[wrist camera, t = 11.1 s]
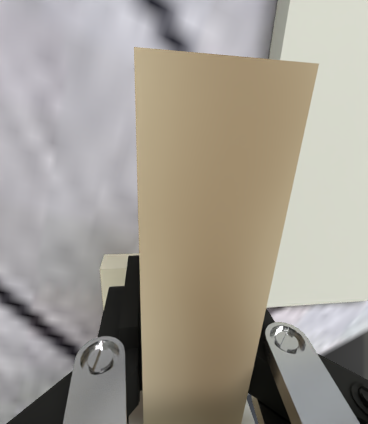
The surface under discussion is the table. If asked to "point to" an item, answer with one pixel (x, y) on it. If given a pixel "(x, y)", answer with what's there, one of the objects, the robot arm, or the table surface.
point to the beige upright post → (210, 222)
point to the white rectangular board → (326, 156)
